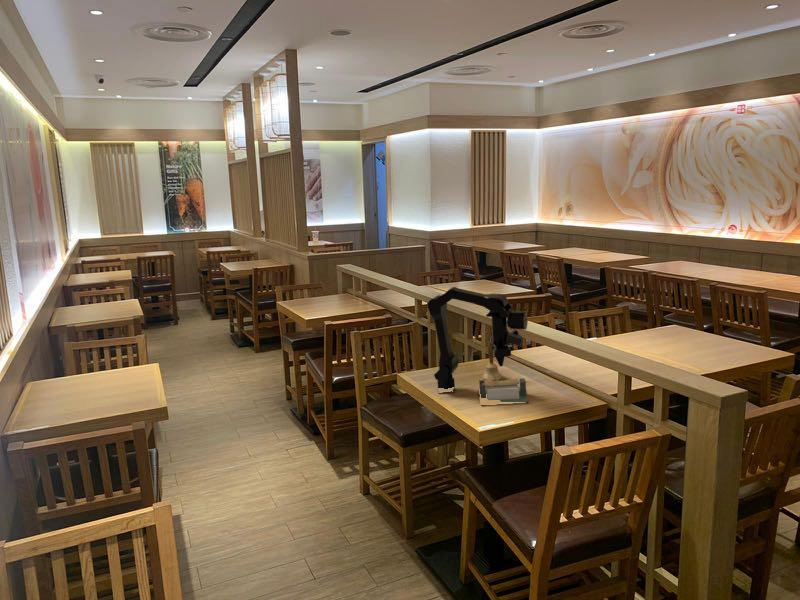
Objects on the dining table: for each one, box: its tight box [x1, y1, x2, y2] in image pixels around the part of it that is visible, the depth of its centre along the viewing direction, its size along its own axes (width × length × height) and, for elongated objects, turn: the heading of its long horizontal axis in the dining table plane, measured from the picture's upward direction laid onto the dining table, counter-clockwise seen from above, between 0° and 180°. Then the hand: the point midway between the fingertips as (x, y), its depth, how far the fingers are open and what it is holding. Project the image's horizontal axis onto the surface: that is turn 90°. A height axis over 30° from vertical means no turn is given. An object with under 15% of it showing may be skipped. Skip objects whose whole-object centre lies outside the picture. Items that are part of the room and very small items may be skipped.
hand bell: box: [482, 341, 503, 381], centre depth 251 cm, size 8×8×16 cm
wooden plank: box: [482, 378, 520, 388], centre depth 232 cm, size 14×3×1 cm, turn 86°
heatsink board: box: [478, 377, 529, 403], centre depth 232 cm, size 18×14×6 cm
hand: (501, 365), depth 231 cm, fingers closed
